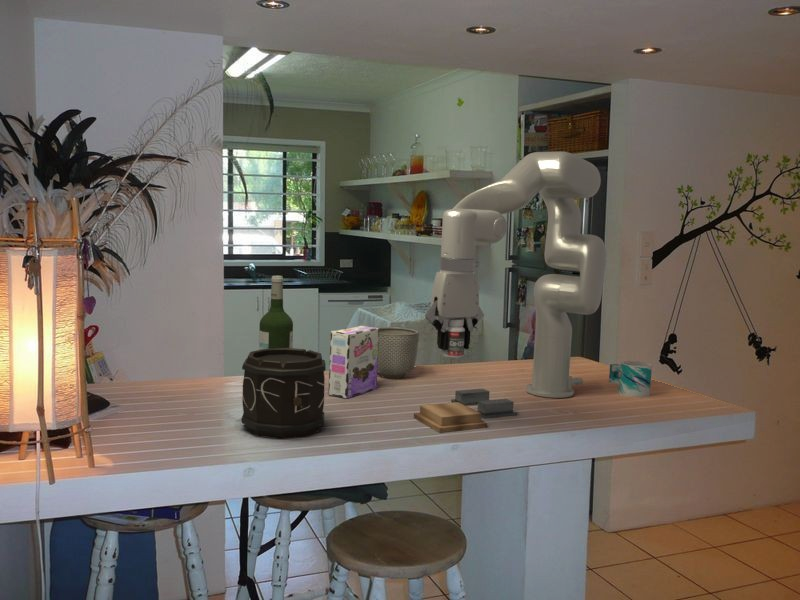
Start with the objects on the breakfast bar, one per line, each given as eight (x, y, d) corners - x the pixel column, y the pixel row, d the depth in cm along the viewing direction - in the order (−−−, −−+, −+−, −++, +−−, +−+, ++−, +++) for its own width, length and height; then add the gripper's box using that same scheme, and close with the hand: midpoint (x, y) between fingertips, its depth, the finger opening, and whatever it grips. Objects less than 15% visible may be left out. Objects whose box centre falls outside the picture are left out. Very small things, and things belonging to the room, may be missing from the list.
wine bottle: (297, 400, 181) (300, 277, 178) (271, 405, 176) (274, 278, 172) (277, 393, 187) (280, 274, 183) (251, 398, 181) (253, 275, 177)
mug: (634, 398, 197) (637, 367, 196) (601, 388, 207) (603, 358, 206) (656, 395, 201) (658, 365, 200) (622, 386, 211) (624, 356, 210)
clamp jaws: (481, 399, 190) (482, 387, 189) (517, 415, 176) (517, 402, 176) (451, 401, 186) (451, 390, 185) (484, 418, 172) (485, 405, 172)
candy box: (346, 399, 184) (348, 333, 182) (327, 395, 187) (329, 330, 185) (377, 389, 196) (380, 327, 194) (359, 385, 199) (361, 324, 197)
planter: (372, 369, 220) (374, 325, 218) (419, 372, 218) (421, 328, 216) (364, 379, 206) (365, 333, 204) (414, 383, 204) (416, 336, 203)
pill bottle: (449, 358, 162) (451, 320, 161) (438, 354, 167) (440, 317, 166) (467, 357, 165) (469, 319, 164) (456, 353, 169) (458, 316, 168)
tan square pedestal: (459, 413, 176) (459, 400, 175) (486, 427, 165) (487, 414, 164) (413, 417, 170) (414, 404, 170) (439, 432, 160) (440, 419, 159)
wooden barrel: (250, 444, 147) (252, 365, 145) (232, 419, 163) (233, 348, 161) (337, 436, 154) (340, 361, 152) (312, 413, 170) (314, 345, 168)
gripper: (481, 265, 170) (476, 344, 173) (415, 264, 163) (411, 347, 165) (499, 268, 164) (494, 350, 166) (431, 267, 156) (427, 353, 158)
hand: (453, 347), depth 165 cm, fingers closed on pill bottle, 4 cm apart
